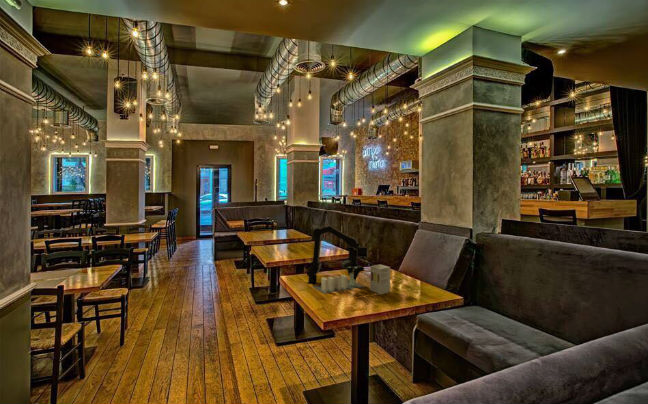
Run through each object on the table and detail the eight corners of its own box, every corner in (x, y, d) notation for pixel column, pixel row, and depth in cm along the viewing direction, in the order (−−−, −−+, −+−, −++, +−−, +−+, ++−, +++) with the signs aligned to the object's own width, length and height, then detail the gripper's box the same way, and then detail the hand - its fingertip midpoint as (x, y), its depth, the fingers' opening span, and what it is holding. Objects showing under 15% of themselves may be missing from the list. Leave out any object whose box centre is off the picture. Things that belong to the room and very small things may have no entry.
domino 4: (340, 286, 235) (340, 275, 234) (343, 286, 236) (343, 274, 235) (344, 288, 230) (344, 276, 230) (347, 288, 231) (347, 276, 231)
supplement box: (369, 291, 228) (369, 265, 227) (379, 288, 233) (379, 263, 232) (380, 294, 220) (380, 268, 219) (390, 292, 225) (390, 266, 225)
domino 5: (349, 284, 238) (349, 273, 238) (351, 284, 239) (351, 272, 239) (353, 286, 234) (353, 274, 233) (355, 286, 235) (356, 274, 234)
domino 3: (334, 287, 232) (334, 276, 232) (336, 287, 233) (337, 275, 233) (338, 289, 228) (338, 277, 228) (340, 289, 229) (341, 277, 228)
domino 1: (321, 290, 227) (321, 278, 227) (324, 289, 228) (324, 277, 228) (325, 292, 223) (325, 279, 223) (327, 291, 224) (327, 279, 224)
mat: (311, 287, 236) (311, 286, 236) (350, 281, 251) (350, 280, 251) (324, 294, 220) (324, 293, 220) (365, 287, 236) (365, 286, 236)
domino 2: (328, 289, 230) (328, 277, 229) (330, 288, 231) (330, 276, 230) (331, 291, 225) (331, 278, 225) (334, 290, 226) (334, 278, 226)
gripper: (335, 254, 240) (335, 277, 240) (350, 260, 223) (350, 284, 224) (349, 253, 245) (348, 275, 246) (364, 258, 229) (364, 281, 230)
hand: (352, 278), depth 236 cm, fingers closed on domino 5, 5 cm apart
